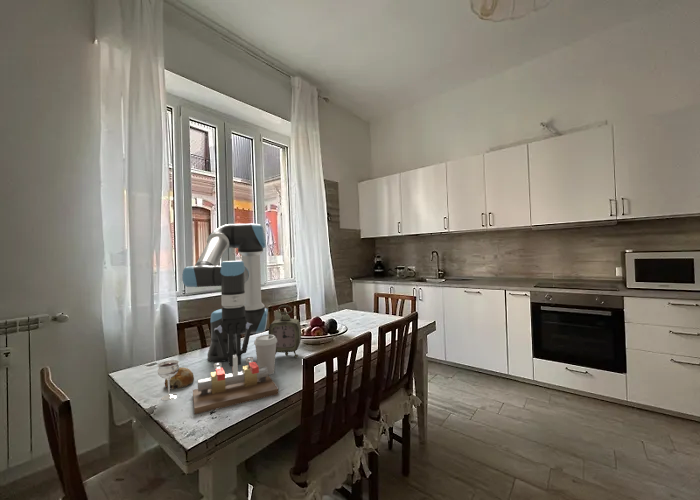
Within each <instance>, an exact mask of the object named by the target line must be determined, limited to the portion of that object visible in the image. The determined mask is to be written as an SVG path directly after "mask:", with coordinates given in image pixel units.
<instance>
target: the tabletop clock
mask: <svg viewBox="0 0 700 500" xmlns="http://www.w3.org/2000/svg"><path fill="white" fill-rule="evenodd" d="M282 307H283V308H284V307H287V308H289V309H290V311H286V310H284V311H283V312H282V311H280V308H282ZM292 311H293V308H292V306H291V305H287V304H282V305H279V307H277V312H278V313H279V314H281V316H279V318H278V319H275V320H273V321H272V322H271V323H270V325H269V327H268V334H267V335H274V336H275V337H276V339H277V343H276V354H277V353H281V354H282V353H283V354H285V356H288V355H289V353H292V352H293V354H294V358H295V359H298V357H299V355H298V354H297V353H296V351H298V349H299V346H300V345H301V341H302V328H301V323H300V320H299V319H297V318H291V316H290V315H289V314H290V313H292ZM276 354H275V356H276Z"/></svg>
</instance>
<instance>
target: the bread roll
mask: <svg viewBox="0 0 700 500" xmlns="http://www.w3.org/2000/svg"><path fill="white" fill-rule="evenodd" d="M194 380H195V376H194V373H193V371H191V369H190V368H187V367H180V366H179V371H178V373H177V374H176V375H175V376H174V377H172V378H171V379H170V390H176V389H181V388H184V387H185V388H186V387H187V386H190V385H191V384H192V383H193V382H194ZM164 386H165V387H166V388H167V389H168V380H166V379H164Z"/></svg>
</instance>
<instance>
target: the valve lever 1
mask: <svg viewBox="0 0 700 500" xmlns="http://www.w3.org/2000/svg"><path fill="white" fill-rule="evenodd" d="M222 363H223V362H215V363H214V364H213V370H215V372H216V377H217V380H218V381H221V380H225V375H226V373H224V372H225V370H224V368H223V367H222V366H223V365H222Z"/></svg>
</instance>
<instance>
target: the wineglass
mask: <svg viewBox="0 0 700 500" xmlns="http://www.w3.org/2000/svg"><path fill="white" fill-rule="evenodd" d="M179 363H180V361H179V360H177V359H175V360H174V359H173V360H166V361H163V362H160V363H158V364H157V367H158V368H157V375H158V376H159V377H160V378H161V379H164V380H165V379H166V380H168V388H167V390H168V394H166V395H164V396H161V398H160V399H161V401H170V400H174V399H176V398H177V397H178V395H177V394H176V393H171V391H170V390H171V389H170V379H171V378H172V377H174V376H175V375H176V374H177V373H178V371H179V367H180V364H179Z"/></svg>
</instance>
